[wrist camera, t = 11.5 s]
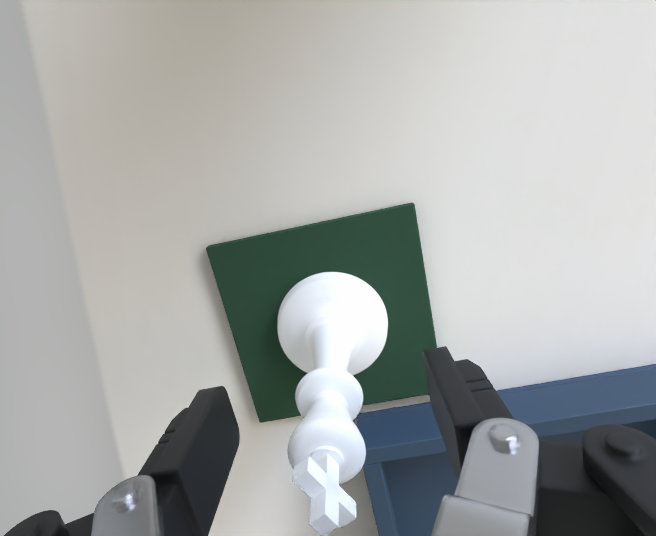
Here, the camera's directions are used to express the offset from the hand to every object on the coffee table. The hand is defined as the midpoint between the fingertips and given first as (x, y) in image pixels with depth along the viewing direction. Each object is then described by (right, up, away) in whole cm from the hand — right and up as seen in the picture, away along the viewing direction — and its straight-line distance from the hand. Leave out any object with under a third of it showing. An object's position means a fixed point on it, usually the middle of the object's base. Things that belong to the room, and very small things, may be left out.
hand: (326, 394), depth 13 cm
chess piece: (0, +2, +5) cm, 6 cm away
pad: (0, +2, +6) cm, 6 cm away
